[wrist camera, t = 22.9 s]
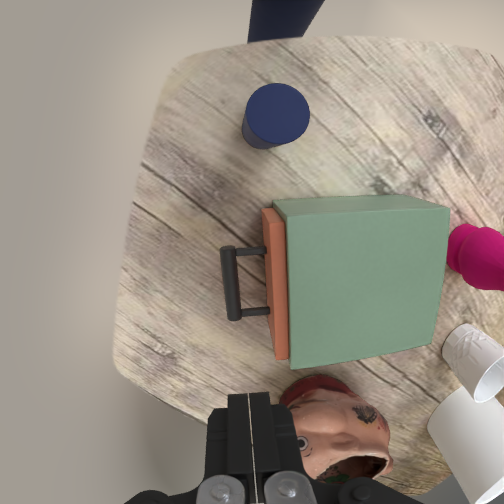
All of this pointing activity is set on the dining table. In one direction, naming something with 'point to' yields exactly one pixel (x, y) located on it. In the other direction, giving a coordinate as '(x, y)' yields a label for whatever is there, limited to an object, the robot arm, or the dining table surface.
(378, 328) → the cabinet
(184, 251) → the dining table surface
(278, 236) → the drawer
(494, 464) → the canister
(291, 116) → the blue cylinder
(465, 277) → the pepper mill
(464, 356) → the white cup
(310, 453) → the decorative planter
